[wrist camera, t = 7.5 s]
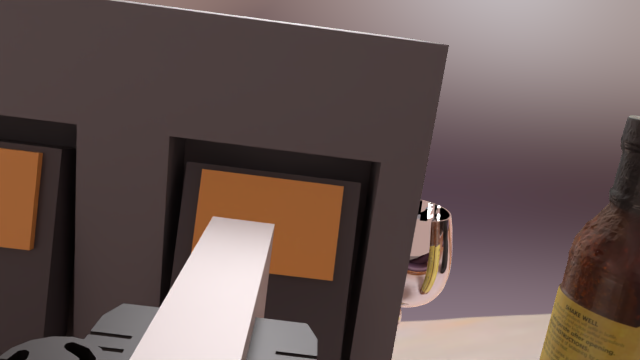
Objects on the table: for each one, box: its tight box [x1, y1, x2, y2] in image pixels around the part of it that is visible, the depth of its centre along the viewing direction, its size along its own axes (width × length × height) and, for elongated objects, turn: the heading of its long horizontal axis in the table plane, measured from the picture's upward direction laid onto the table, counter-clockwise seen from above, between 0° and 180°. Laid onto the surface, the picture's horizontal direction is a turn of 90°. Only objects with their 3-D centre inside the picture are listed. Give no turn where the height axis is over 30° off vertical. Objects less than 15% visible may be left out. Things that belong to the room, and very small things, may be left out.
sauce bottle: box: [540, 116, 640, 360], centre depth 29 cm, size 6×6×20 cm
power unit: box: [0, 0, 449, 360], centre depth 24 cm, size 20×8×22 cm, turn 90°
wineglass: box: [397, 200, 452, 327], centre depth 37 cm, size 6×6×12 cm
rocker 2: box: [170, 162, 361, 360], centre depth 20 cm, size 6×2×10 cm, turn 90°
